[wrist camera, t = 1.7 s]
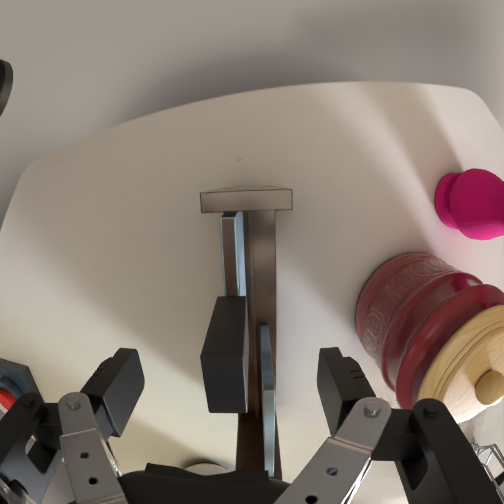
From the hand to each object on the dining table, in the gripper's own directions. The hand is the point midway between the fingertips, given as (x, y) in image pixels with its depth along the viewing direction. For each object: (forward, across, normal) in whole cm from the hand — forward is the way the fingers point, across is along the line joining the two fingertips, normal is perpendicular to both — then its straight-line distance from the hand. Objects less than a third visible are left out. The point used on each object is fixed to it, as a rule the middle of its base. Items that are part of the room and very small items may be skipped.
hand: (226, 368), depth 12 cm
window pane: (+16, 0, 0) cm, 16 cm away
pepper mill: (+17, -24, -6) cm, 30 cm away
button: (+14, +39, +21) cm, 46 cm away
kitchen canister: (+17, -18, +6) cm, 26 cm away
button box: (+17, +39, +21) cm, 47 cm away
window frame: (+17, -1, +6) cm, 18 cm away
